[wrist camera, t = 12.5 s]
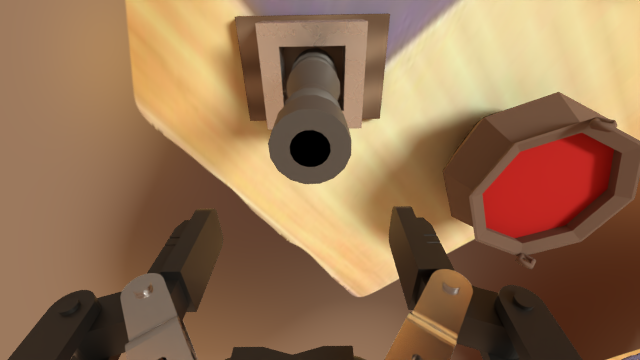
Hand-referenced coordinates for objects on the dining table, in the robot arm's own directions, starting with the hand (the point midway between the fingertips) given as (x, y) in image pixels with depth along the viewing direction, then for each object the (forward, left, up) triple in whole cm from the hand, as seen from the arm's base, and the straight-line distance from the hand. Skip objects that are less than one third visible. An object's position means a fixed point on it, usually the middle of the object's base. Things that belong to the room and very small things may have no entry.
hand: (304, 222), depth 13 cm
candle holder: (0, 0, -33) cm, 33 cm away
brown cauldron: (+14, +31, -34) cm, 48 cm away
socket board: (0, 0, -34) cm, 34 cm away
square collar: (0, 0, -33) cm, 33 cm away
